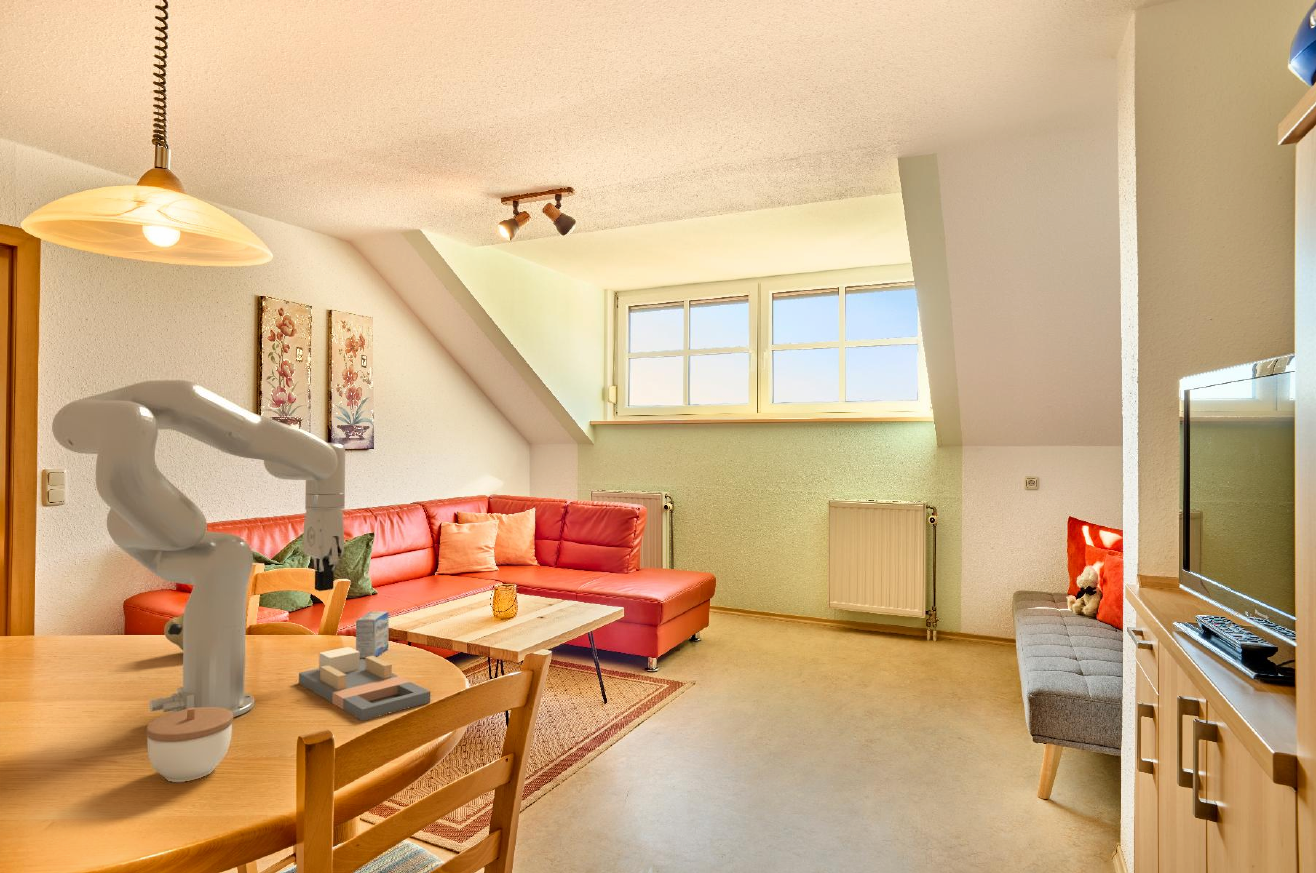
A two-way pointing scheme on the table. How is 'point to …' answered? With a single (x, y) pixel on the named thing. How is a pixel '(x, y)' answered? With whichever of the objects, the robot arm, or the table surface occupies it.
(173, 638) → the toy pig
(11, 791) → the table surface
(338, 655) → the block
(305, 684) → the deck
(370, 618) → the medicine box
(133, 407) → the robot arm
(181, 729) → the lidded jar
